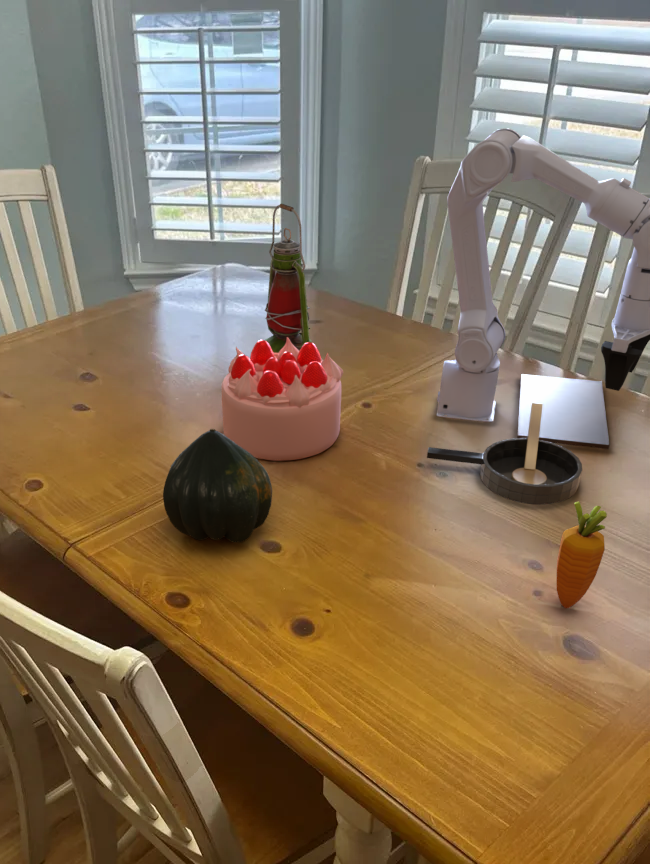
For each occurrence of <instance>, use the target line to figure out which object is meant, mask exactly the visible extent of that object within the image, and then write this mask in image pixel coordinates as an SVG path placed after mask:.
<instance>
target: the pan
mask: <svg viewBox="0 0 650 864" xmlns="http://www.w3.org/2000/svg"><path fill="white" fill-rule="evenodd" d="M526 446H527V438H517V437H513V438H505V439H502V440H499V441H496V442H494V443H492V444H490V445H488V446H487V447H486V448H485V450H484V451H483V452H482V453H483V459H482V464H480V471H479V477H480V479H481V482H482V484H484V486H485V487H486V488H487V489H488V490H489V491H491V492H493V493H494V494H496V495H498V496H500V497H502V498H504V499H507V500H510V501H513V502H516V503H522V504H523V503H524V504H529V505H551V504H556V503H561V502H564V501H565V500H568V499H570V498H571V497H572V496H574V495H575V494H576V493H577V490H578V489H579V485H580V481H581V478H582V473H583V463H582V462H581V460H580V458H579V456H577V455H576V454H575V453H574V452H572V451H571V450H569V449H568V448H566V447H565V446H562V445H561V444H557V443H552V442H548V441H544V440H539V441H538V450H537V459H536V468H535V469H537V470H539V471H541V472H543V473H544V474H545V475H546V477H547V480H546V484H545V485H536V484H528V483H522V482H519V481H515V480H512V479H511V477H512V473H513V471H514V470H516V469H519V468H524V462H525V454H526Z"/></svg>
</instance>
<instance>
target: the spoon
mask: <svg viewBox="0 0 650 864" xmlns="http://www.w3.org/2000/svg"><path fill="white" fill-rule="evenodd" d="M542 406H543V404H537V403H532V406H531V413H530V421H529V429H528V437H527V446H526V454H525V462H524V468H519V469H516V470H514V471H513V473H512V477H511V479H512V480H515V481H519V482H522V483H528V484H536V485H545V484H546V480H547V477H546V475H545V474H544V473H543V472H541V471H539V470H537V469H535V468H536V459H537V450H538V441H539V433H540V424H541V415H542Z"/></svg>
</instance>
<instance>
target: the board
mask: <svg viewBox="0 0 650 864" xmlns="http://www.w3.org/2000/svg"><path fill="white" fill-rule="evenodd" d="M518 398H519V401H518V416H517V418H518V419H517V434H516V438H527V437H528V429H529V421H530V413H531V406H532V403H537V404H543V406H542V415H541V424H540V433H539V440H544V441H548V442H552V443H555V444H557V445H567V446H575V447H584V448H585V447H586V448H595V449H602V450H603V449H604V450H609V448H610V437H609V430H608V422H607V413H606V405H605V397H604V388H603V381H602V380H601V381H600V380H590V379H579V378H569V377H568V378H567V377H557V376H548V375H547V376H546V375H537V374H536V375H534V374H524V373H522V374H520V380H519V397H518Z"/></svg>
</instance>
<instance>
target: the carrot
mask: <svg viewBox="0 0 650 864" xmlns="http://www.w3.org/2000/svg"><path fill="white" fill-rule="evenodd" d="M573 505H574V509H575V512H576V517H577V522H578V525H574V526H573V527H569V528H566V529H565V530H563V532H562V535H561V539H560V543H559V548H558V553H557V560H556V593H557V598H558V600H559V603H560V605H561V607H563V608H564V609H570V608H572V607H573V606H574V605H576V604H577V603H578V602H579V601H580V600H581V599H583V597H584V596H585V595H586V593H588V590H589V589H590V587H591V585H592V584H593V582H594V580H595V578H596V576H597V574H598V571H599V568H600V565H601V563H602V559H603V556H604V553H605V548H606V547H605V535H603V533H601V532H600V531H602V530H604V529H606V526H605V525H603V524H600V523H602V522H603V521H604V520H605V519H606V518H607V517H608V513H607V511H605V510H601V509H602V506H601V505H595V506H594V507H593V508H592V510H591V511H590V513H588V512H586V513H584V514H583V508H582V505H581V502H580V501H576V502H574V503H573Z"/></svg>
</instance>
